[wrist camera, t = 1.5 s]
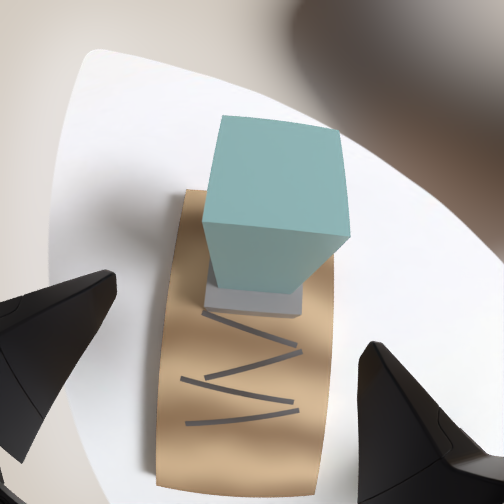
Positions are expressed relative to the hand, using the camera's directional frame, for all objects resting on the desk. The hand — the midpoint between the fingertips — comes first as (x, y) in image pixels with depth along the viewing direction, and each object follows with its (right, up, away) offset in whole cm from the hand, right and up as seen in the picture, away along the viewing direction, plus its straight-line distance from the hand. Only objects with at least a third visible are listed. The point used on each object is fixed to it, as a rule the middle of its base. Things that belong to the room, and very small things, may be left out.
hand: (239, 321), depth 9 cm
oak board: (0, -5, +11) cm, 12 cm away
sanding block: (+1, +1, +12) cm, 12 cm away
